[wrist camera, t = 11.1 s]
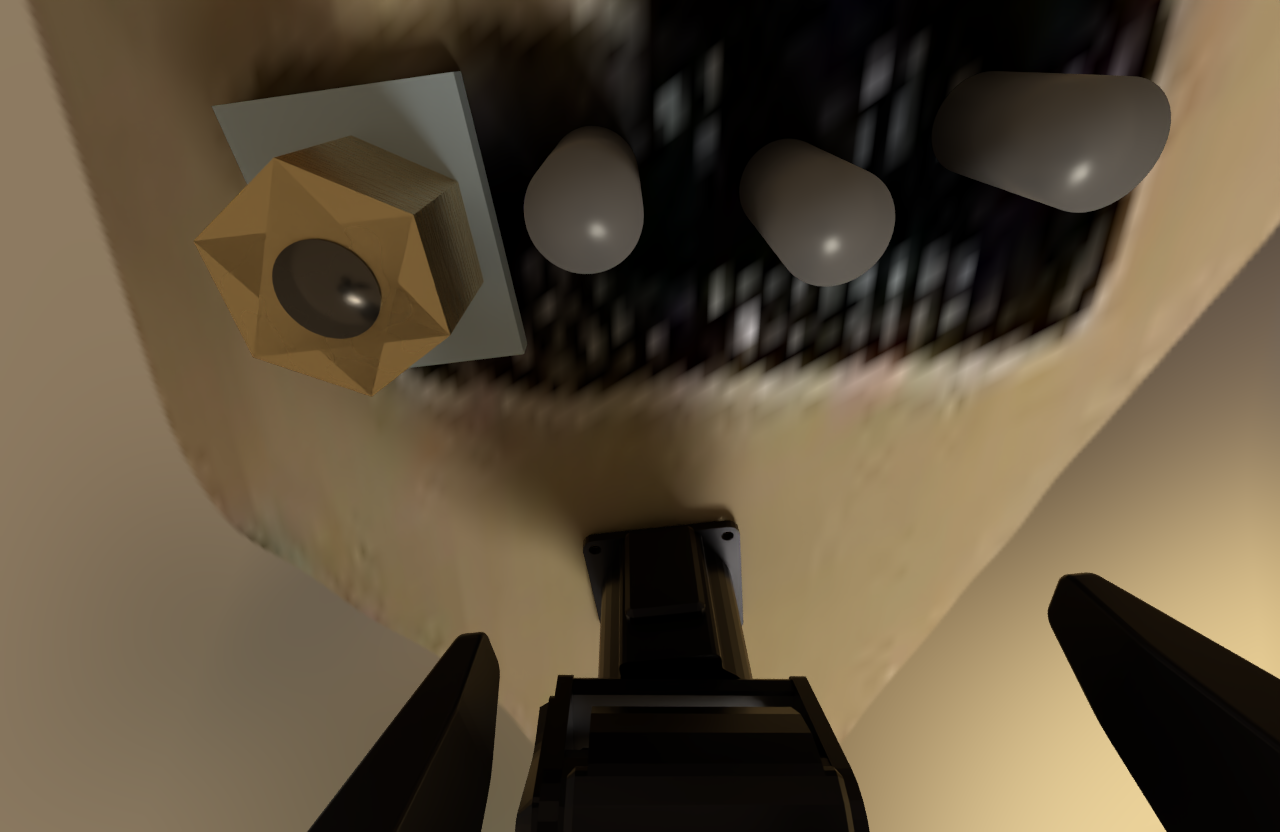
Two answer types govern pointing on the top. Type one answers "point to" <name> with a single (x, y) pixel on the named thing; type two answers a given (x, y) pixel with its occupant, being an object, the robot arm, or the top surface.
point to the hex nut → (344, 262)
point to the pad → (422, 133)
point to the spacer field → (858, 200)
